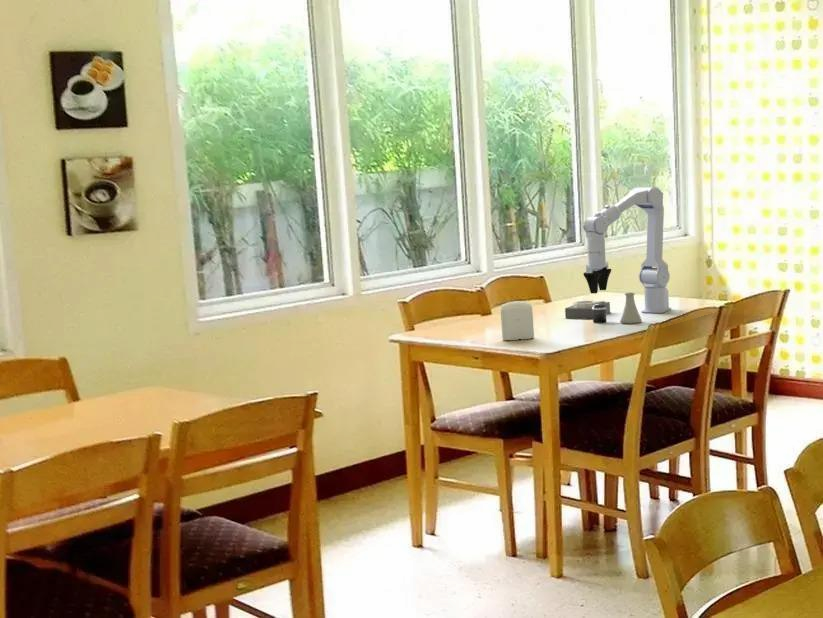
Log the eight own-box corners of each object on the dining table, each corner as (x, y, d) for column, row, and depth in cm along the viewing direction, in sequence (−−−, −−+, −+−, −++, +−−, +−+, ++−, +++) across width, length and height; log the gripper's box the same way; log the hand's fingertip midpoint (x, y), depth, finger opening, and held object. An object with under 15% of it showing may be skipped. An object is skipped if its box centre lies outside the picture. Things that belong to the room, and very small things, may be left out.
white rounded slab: (502, 341, 391) (500, 303, 389) (501, 339, 395) (499, 301, 393) (535, 339, 391) (532, 301, 389) (533, 337, 395) (531, 299, 393)
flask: (641, 323, 407) (640, 294, 405) (619, 324, 408) (618, 295, 407) (642, 320, 414) (640, 291, 412) (620, 321, 415) (619, 292, 414)
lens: (596, 320, 419) (595, 303, 418) (608, 321, 417) (608, 303, 416) (590, 323, 415) (589, 305, 414) (603, 323, 413) (602, 305, 412)
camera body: (581, 311, 441) (581, 298, 440) (610, 312, 435) (609, 298, 434) (565, 318, 429) (564, 304, 429) (594, 318, 423) (593, 304, 423)
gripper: (594, 249, 421) (595, 288, 423) (576, 254, 409) (578, 294, 411) (613, 249, 417) (615, 288, 419) (596, 254, 405) (598, 294, 407)
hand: (598, 291), depth 415 cm, fingers open, 7 cm apart
